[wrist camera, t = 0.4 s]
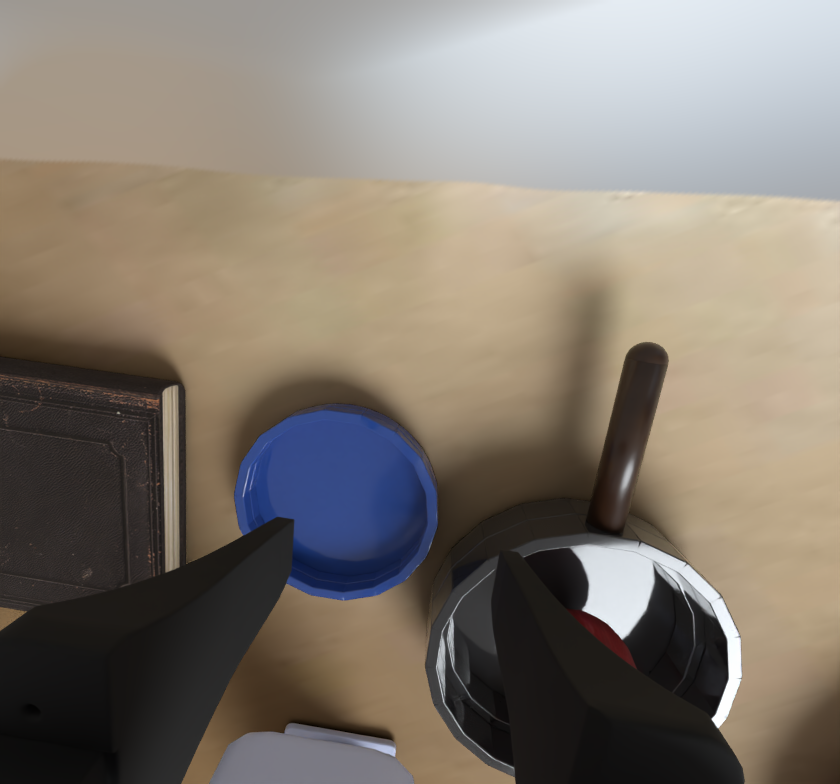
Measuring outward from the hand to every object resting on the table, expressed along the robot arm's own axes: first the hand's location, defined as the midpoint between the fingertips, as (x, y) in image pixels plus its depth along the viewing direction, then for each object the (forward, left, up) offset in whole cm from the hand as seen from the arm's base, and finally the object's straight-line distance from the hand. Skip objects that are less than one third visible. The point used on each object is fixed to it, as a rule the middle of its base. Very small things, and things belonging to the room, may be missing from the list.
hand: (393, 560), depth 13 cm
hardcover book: (-5, +26, -10) cm, 28 cm away
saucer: (-3, +4, -10) cm, 11 cm away
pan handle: (+3, -10, -8) cm, 14 cm away
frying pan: (-9, -10, -10) cm, 17 cm away
